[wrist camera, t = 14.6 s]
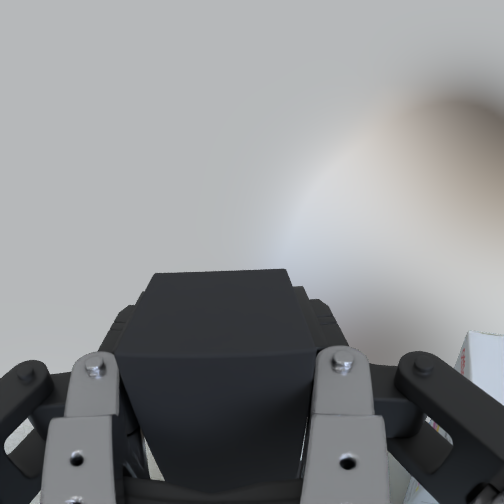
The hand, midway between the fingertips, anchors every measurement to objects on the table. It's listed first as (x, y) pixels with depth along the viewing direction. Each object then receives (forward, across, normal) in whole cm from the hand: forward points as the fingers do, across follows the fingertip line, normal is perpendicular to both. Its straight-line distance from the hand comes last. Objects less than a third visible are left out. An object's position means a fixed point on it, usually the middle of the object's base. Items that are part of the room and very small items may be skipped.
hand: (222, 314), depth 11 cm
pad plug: (-3, 0, +8) cm, 8 cm away
